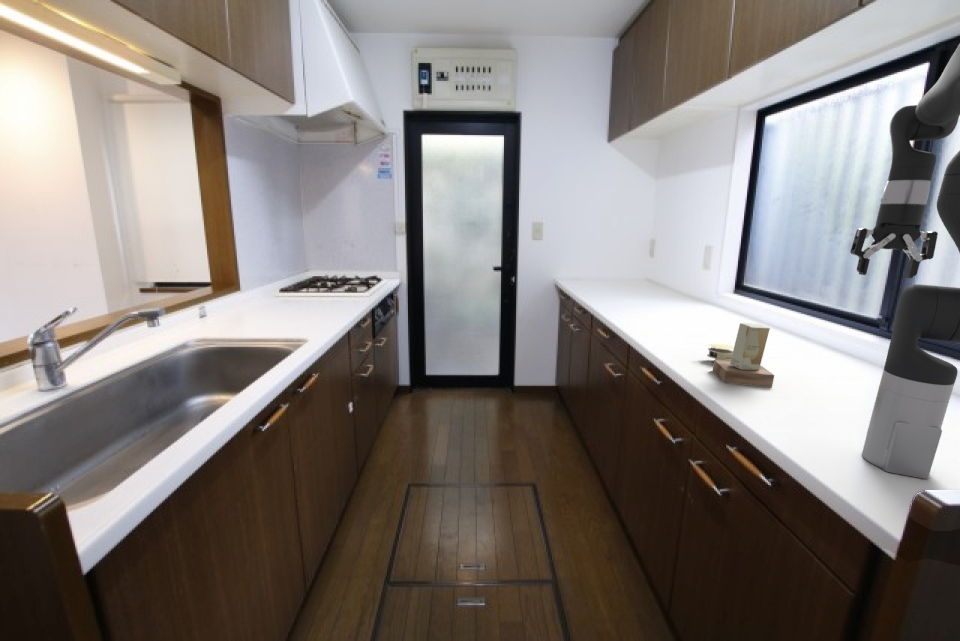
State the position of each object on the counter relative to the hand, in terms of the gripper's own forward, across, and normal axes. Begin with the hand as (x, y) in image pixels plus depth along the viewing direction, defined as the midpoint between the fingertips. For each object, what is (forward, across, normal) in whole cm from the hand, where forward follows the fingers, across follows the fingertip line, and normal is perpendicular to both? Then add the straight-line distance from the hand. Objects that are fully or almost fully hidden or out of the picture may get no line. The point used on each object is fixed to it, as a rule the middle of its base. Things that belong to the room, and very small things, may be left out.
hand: (884, 276), depth 103 cm
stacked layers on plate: (+33, -26, +25) cm, 49 cm away
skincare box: (+29, -22, +10) cm, 38 cm away
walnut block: (+33, -22, +11) cm, 41 cm away
